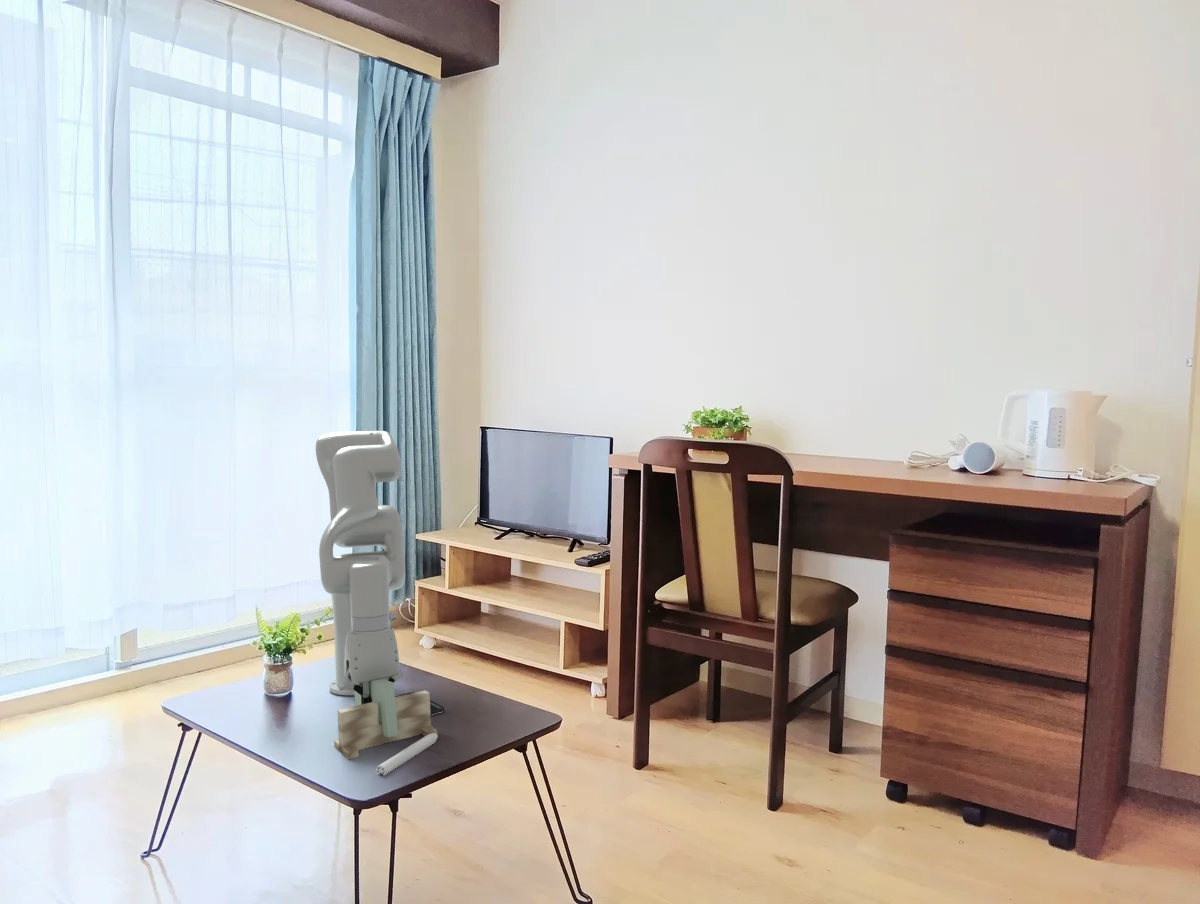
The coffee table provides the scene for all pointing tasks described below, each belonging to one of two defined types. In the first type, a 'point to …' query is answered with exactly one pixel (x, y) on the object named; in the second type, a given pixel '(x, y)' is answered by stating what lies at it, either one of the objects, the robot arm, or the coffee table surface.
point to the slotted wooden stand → (367, 731)
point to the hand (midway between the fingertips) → (374, 713)
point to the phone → (433, 706)
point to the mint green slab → (383, 704)
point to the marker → (407, 754)
